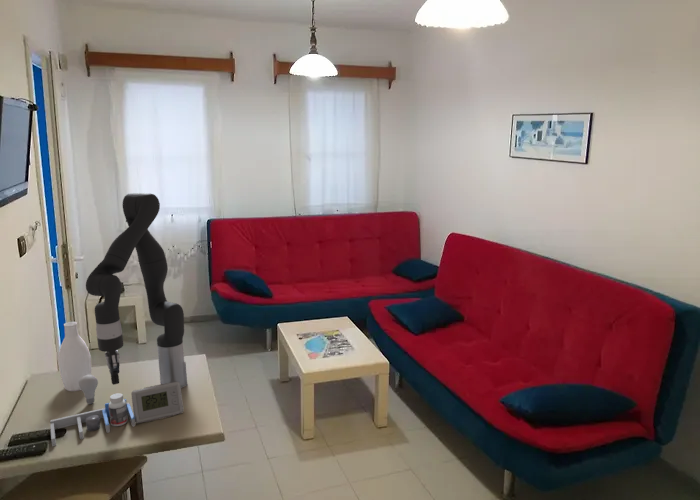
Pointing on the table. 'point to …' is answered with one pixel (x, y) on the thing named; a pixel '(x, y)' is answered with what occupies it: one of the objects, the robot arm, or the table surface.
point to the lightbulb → (88, 387)
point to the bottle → (73, 358)
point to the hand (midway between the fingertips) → (115, 383)
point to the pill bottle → (117, 410)
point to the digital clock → (157, 402)
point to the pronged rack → (87, 421)
